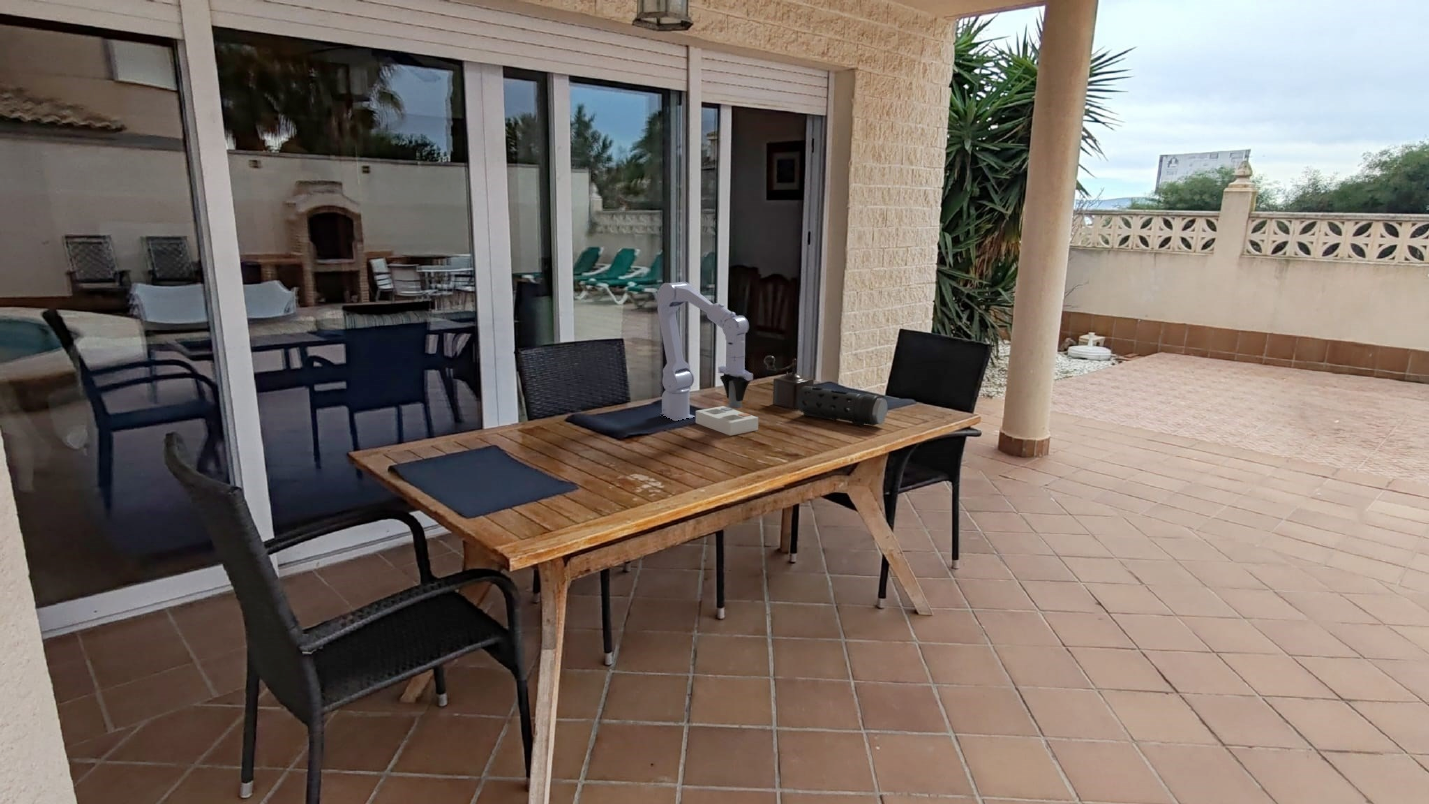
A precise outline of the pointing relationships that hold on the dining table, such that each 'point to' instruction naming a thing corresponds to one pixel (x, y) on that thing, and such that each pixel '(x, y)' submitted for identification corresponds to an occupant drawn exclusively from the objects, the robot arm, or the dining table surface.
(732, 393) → the peg
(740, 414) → the socket block
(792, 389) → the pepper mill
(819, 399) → the muzzle brake
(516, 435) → the dining table surface
